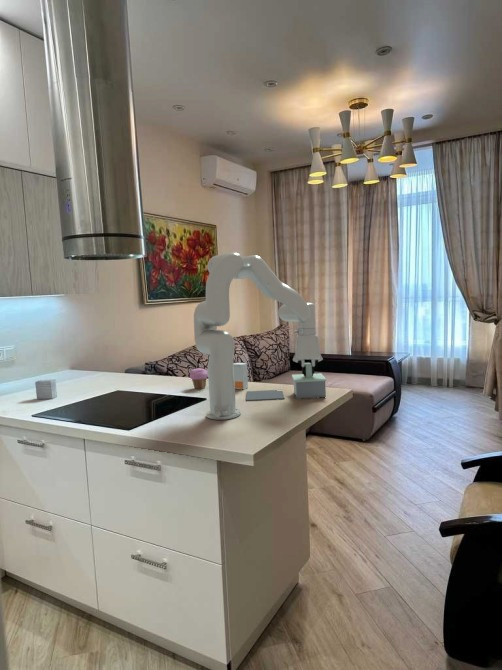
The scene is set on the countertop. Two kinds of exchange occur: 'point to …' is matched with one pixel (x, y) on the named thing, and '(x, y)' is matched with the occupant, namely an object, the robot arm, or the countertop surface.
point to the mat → (264, 395)
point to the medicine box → (46, 389)
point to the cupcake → (199, 378)
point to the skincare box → (240, 375)
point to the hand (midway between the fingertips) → (308, 375)
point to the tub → (309, 389)
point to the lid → (308, 375)
